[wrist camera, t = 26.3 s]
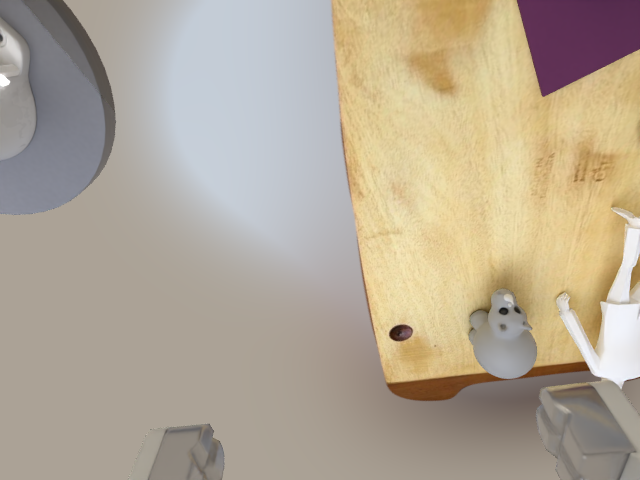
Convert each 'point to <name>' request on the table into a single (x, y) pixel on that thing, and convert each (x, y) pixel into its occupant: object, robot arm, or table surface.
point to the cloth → (578, 37)
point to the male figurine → (614, 317)
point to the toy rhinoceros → (503, 337)
